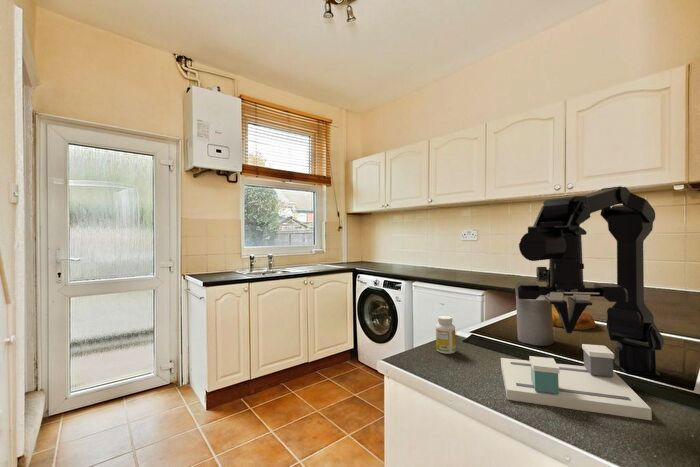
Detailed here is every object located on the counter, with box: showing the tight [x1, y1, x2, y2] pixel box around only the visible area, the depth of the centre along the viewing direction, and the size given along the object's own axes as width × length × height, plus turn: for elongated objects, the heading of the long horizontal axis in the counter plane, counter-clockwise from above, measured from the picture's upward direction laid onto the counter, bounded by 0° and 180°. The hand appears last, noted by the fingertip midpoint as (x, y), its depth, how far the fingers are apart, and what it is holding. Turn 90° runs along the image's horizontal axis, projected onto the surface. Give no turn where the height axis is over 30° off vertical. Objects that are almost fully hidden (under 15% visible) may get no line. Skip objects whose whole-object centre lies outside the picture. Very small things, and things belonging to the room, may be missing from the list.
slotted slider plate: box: [500, 357, 653, 421], centre depth 70 cm, size 23×18×2 cm
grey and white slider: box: [581, 343, 615, 377], centre depth 72 cm, size 4×5×5 cm
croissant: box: [552, 304, 596, 331], centre depth 117 cm, size 14×16×8 cm
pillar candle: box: [515, 295, 555, 347], centre depth 101 cm, size 10×10×15 cm
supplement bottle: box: [435, 315, 457, 355], centre depth 94 cm, size 5×5×10 cm
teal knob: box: [528, 355, 560, 394], centre depth 66 cm, size 4×5×5 cm
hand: (568, 333), depth 67 cm, fingers closed
